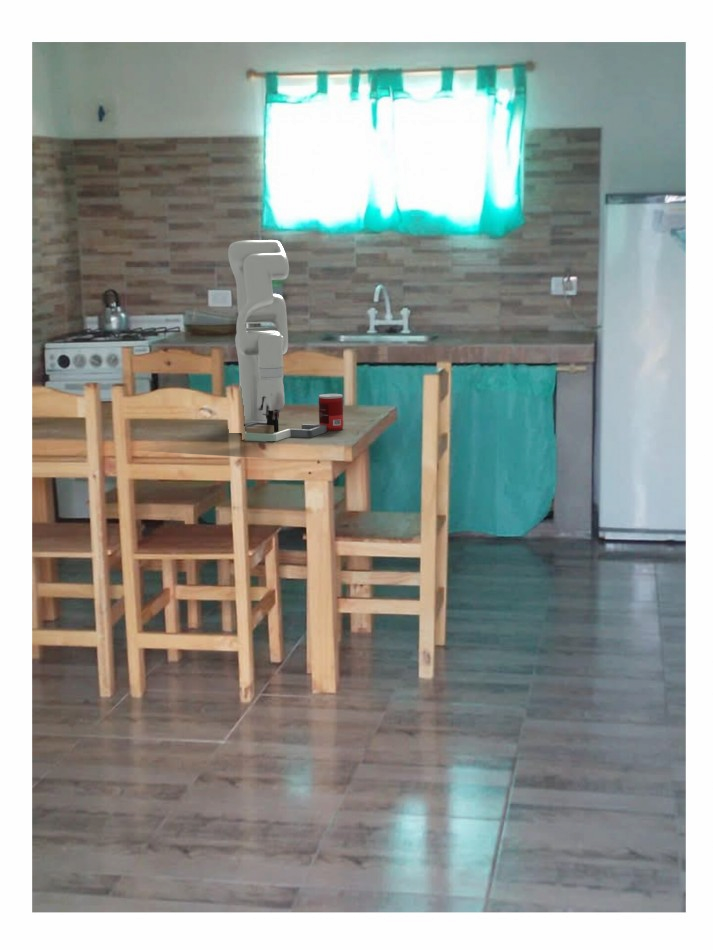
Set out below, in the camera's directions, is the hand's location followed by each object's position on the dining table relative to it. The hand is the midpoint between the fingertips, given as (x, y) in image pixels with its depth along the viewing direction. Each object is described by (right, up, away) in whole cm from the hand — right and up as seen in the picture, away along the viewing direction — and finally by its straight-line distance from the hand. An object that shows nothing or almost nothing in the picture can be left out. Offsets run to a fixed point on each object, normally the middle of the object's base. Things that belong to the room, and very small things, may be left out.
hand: (272, 431), depth 390 cm
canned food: (+18, +1, +12) cm, 22 cm away
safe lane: (-2, -2, -3) cm, 4 cm away
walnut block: (-4, -2, -4) cm, 6 cm away
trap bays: (+3, 0, +6) cm, 7 cm away
